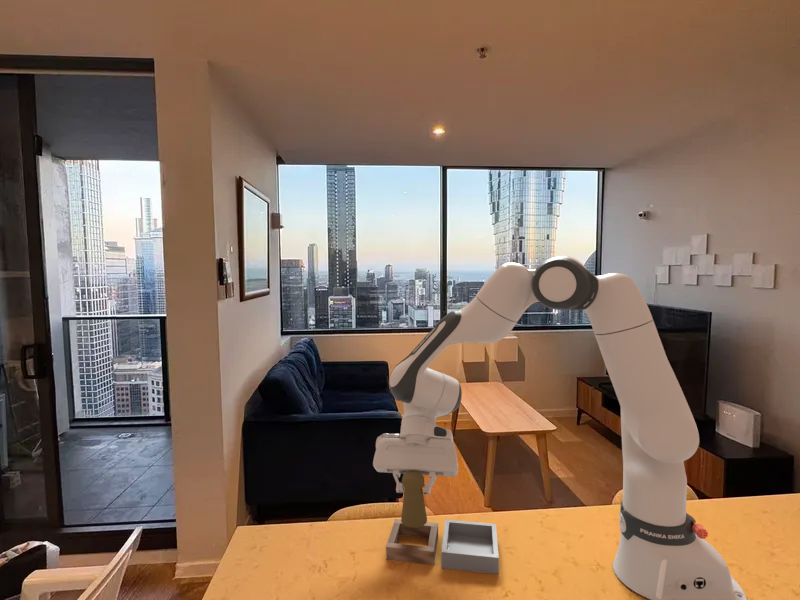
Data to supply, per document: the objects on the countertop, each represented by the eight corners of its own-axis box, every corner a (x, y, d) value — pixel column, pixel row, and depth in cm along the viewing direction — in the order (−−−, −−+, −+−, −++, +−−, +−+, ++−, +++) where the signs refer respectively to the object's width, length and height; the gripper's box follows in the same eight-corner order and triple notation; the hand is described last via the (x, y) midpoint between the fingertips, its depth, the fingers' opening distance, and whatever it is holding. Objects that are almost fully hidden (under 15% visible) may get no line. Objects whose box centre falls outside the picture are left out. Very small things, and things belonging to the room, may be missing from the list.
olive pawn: (425, 529, 93) (423, 481, 92) (398, 526, 94) (397, 478, 94) (428, 513, 99) (427, 468, 98) (403, 511, 100) (402, 466, 99)
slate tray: (495, 538, 99) (495, 523, 99) (498, 574, 88) (498, 557, 87) (445, 533, 102) (445, 519, 101) (441, 568, 90) (441, 552, 90)
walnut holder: (438, 534, 101) (438, 522, 101) (434, 564, 91) (433, 551, 91) (395, 530, 103) (395, 519, 103) (386, 559, 93) (386, 546, 92)
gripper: (375, 427, 104) (366, 485, 95) (457, 430, 100) (456, 491, 91) (379, 438, 109) (371, 494, 100) (458, 441, 105) (458, 500, 96)
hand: (413, 492), depth 95 cm, fingers closed on olive pawn, 5 cm apart
